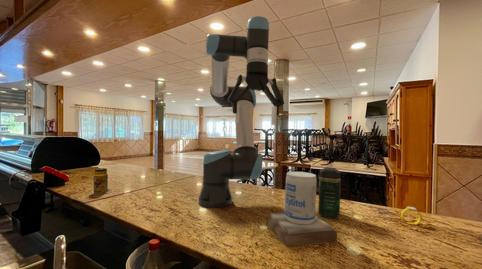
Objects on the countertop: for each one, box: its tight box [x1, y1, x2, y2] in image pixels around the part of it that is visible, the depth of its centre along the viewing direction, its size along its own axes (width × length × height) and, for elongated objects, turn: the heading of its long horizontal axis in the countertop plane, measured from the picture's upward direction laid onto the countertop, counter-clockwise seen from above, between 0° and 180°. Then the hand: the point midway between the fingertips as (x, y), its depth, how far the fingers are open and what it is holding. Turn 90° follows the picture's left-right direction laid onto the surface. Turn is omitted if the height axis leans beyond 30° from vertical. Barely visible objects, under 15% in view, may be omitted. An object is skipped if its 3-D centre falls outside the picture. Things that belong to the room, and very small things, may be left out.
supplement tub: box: [283, 171, 318, 225], centre depth 70 cm, size 10×10×15 cm
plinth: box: [265, 212, 338, 248], centre depth 70 cm, size 16×16×4 cm
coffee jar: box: [317, 166, 342, 219], centre depth 87 cm, size 10×8×19 cm
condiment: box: [91, 167, 110, 196], centre depth 112 cm, size 7×8×12 cm
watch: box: [400, 206, 423, 226], centre depth 79 cm, size 6×3×6 cm, turn 75°
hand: (255, 124), depth 77 cm, fingers open, 13 cm apart
